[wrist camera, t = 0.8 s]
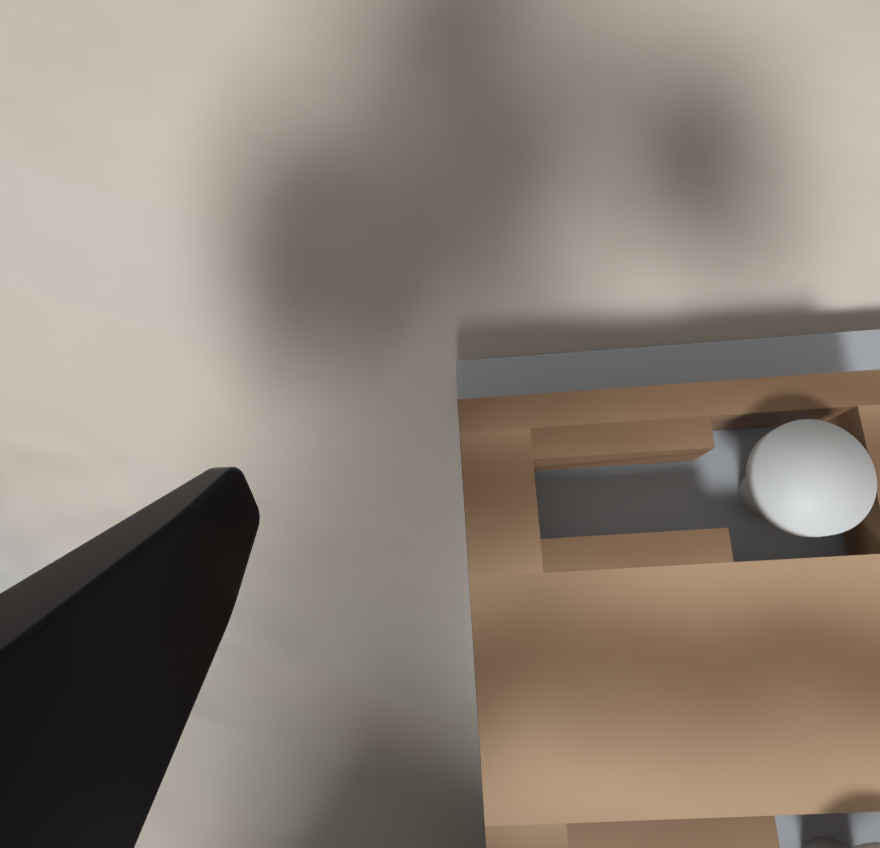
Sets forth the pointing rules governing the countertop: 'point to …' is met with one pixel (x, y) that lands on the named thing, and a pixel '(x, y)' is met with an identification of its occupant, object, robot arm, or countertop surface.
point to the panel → (664, 632)
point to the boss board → (715, 474)
